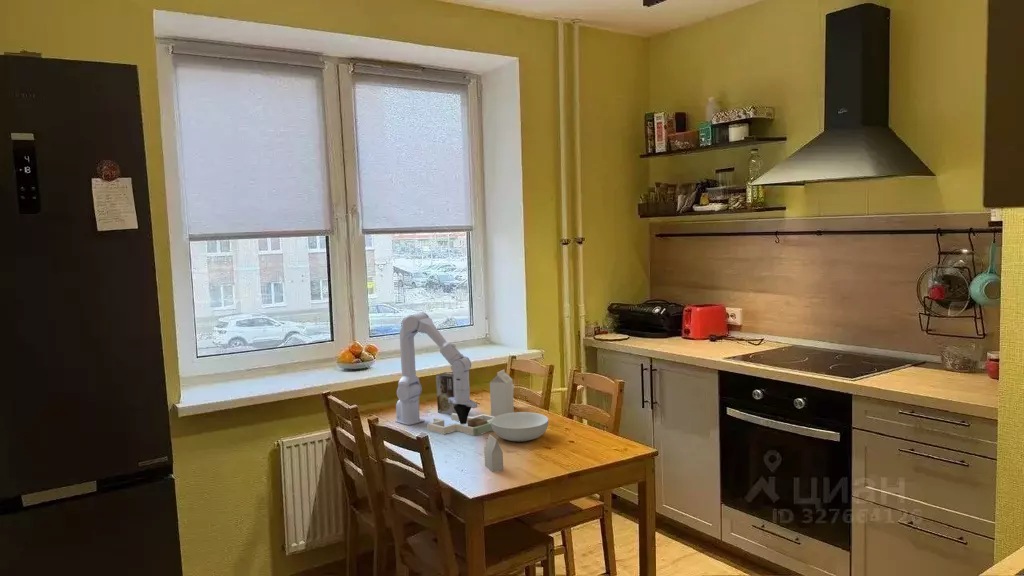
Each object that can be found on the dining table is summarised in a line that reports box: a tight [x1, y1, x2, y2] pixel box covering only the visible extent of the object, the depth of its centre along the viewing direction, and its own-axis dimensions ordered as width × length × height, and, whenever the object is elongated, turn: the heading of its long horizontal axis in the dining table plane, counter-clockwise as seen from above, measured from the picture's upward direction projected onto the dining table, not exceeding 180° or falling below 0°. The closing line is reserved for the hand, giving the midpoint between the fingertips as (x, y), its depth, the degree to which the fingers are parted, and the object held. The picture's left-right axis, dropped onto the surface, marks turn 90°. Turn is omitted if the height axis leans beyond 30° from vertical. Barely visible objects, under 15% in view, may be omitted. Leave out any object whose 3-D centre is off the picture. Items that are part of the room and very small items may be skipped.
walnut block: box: [467, 418, 487, 427], centre depth 268 cm, size 6×4×4 cm
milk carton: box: [489, 369, 515, 417], centre depth 285 cm, size 7×7×19 cm
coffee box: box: [435, 372, 457, 415], centre depth 296 cm, size 9×6×16 cm
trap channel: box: [426, 413, 494, 437], centre depth 273 cm, size 24×23×3 cm
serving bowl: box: [491, 411, 550, 443], centre depth 256 cm, size 21×21×7 cm
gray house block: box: [483, 434, 504, 473], centre depth 224 cm, size 4×7×10 cm, turn 22°
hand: (463, 423), depth 273 cm, fingers closed
